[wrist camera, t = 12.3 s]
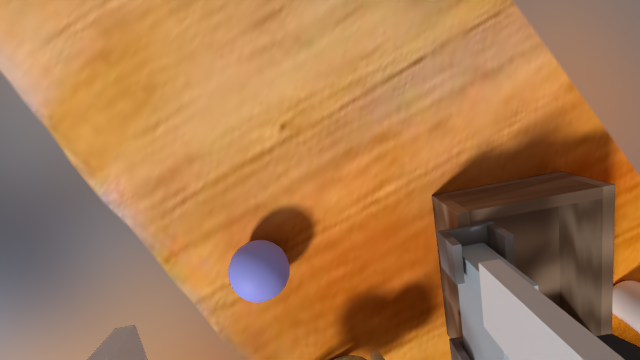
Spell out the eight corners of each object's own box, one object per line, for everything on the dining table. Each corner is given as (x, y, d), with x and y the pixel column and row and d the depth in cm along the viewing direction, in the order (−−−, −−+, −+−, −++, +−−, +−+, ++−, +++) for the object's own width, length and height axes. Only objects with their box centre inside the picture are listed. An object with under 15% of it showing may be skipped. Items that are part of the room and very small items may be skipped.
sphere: (263, 219, 39) (253, 243, 32) (303, 256, 40) (301, 287, 33) (224, 256, 40) (206, 286, 33) (264, 291, 41) (255, 327, 34)
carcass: (414, 198, 39) (451, 230, 29) (561, 171, 39) (652, 193, 28) (431, 336, 43) (468, 407, 33) (563, 313, 43) (643, 377, 33)
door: (445, 249, 32) (488, 294, 24) (483, 242, 32) (538, 285, 24) (457, 363, 35) (498, 435, 27) (492, 357, 35) (543, 428, 27)
